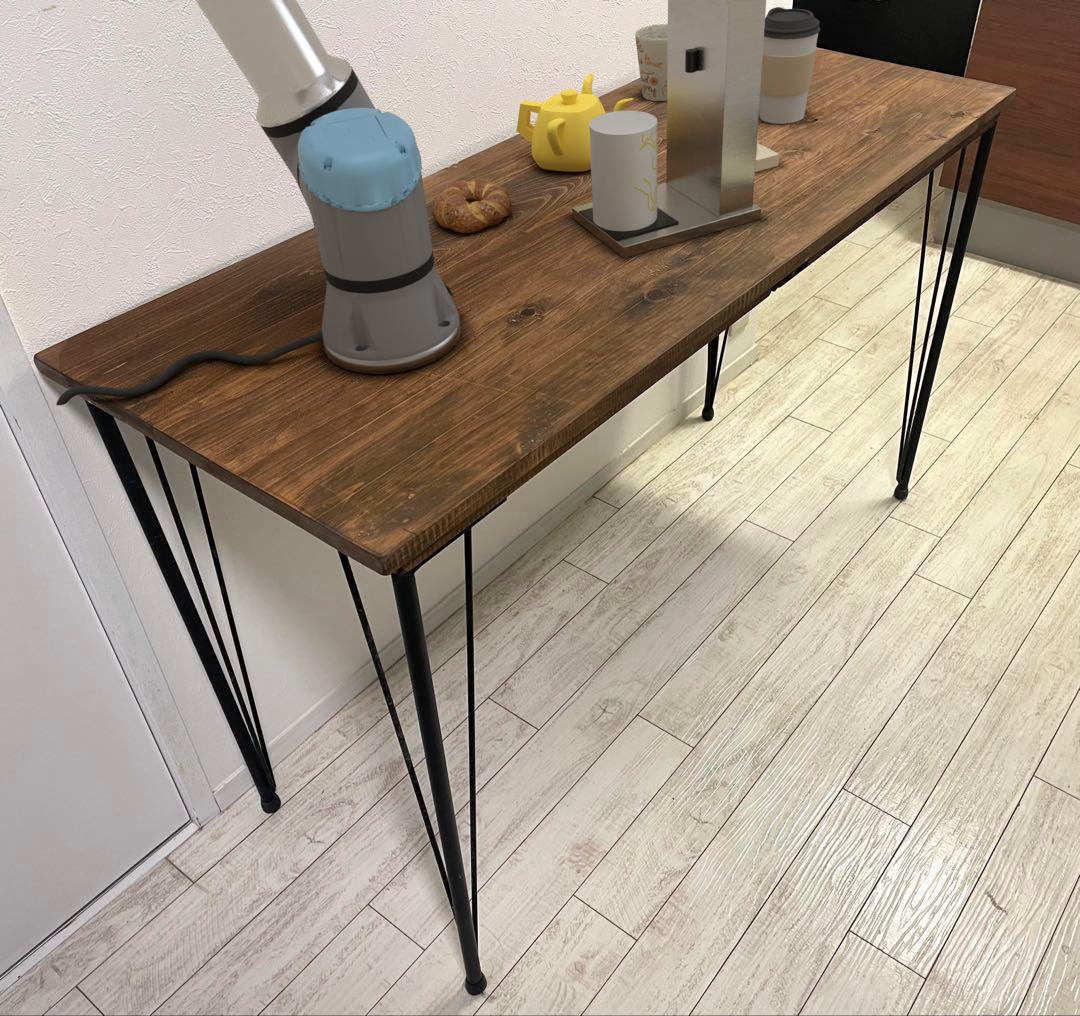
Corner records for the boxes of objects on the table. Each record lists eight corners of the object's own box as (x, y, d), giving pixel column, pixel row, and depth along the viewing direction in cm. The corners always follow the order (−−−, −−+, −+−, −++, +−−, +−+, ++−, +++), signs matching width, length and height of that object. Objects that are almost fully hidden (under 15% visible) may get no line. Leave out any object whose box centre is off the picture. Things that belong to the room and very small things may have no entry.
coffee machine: (623, 258, 125) (619, 0, 106) (572, 218, 135) (559, -24, 116) (760, 219, 131) (778, -32, 112) (701, 183, 141) (709, -53, 122)
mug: (631, 90, 172) (631, 27, 166) (704, 82, 173) (707, 19, 166) (640, 106, 166) (640, 41, 160) (716, 98, 166) (719, 33, 160)
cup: (653, 231, 126) (653, 134, 118) (588, 230, 128) (584, 134, 120) (660, 204, 132) (661, 110, 124) (598, 203, 134) (595, 110, 126)
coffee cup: (824, 115, 157) (835, 10, 147) (781, 130, 153) (789, 24, 144) (782, 101, 163) (790, 0, 153) (739, 116, 159) (745, 12, 150)
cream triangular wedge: (718, 182, 140) (719, 157, 138) (687, 164, 146) (687, 139, 144) (778, 165, 143) (780, 141, 141) (746, 148, 149) (747, 124, 147)
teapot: (635, 165, 147) (634, 94, 141) (550, 185, 144) (546, 114, 137) (594, 136, 157) (591, 69, 151) (513, 154, 154) (507, 86, 147)
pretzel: (500, 237, 132) (498, 210, 129) (420, 235, 134) (416, 208, 132) (522, 199, 141) (520, 173, 138) (447, 197, 143) (443, 171, 140)
